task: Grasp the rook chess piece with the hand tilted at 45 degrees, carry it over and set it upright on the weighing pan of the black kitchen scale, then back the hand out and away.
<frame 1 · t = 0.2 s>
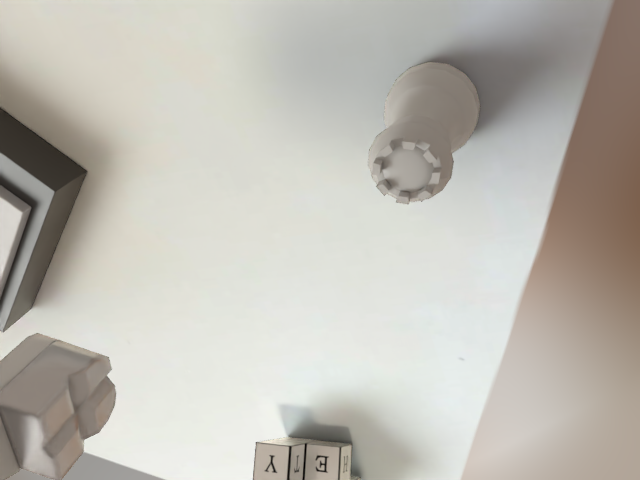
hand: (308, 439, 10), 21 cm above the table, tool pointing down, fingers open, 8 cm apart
building blocks: (322, 446, 43), on the table
rook chess piece: (433, 104, 27), on the table
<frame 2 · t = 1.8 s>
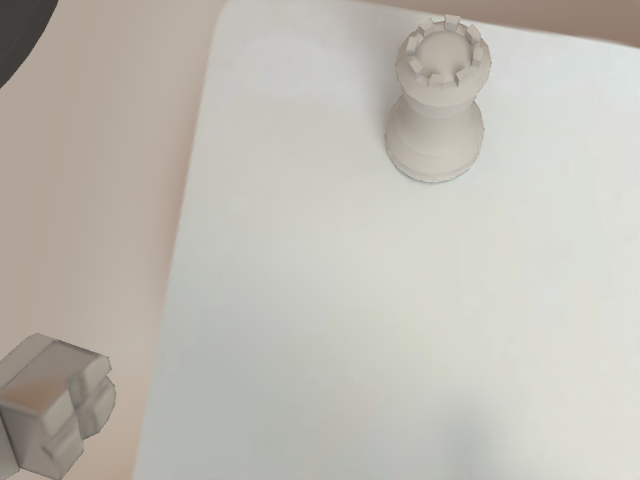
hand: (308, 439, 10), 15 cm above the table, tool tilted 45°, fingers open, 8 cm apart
rook chess piece: (432, 141, 26), on the table
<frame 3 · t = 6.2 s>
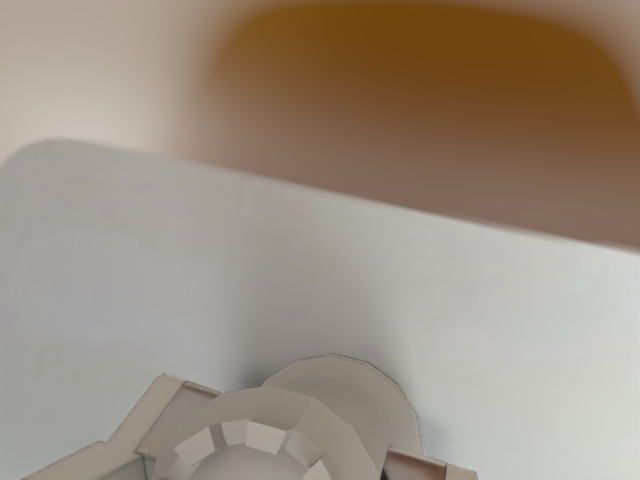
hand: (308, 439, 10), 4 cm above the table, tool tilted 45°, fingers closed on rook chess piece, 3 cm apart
rook chess piece: (334, 443, 14), on the table, touching gripper
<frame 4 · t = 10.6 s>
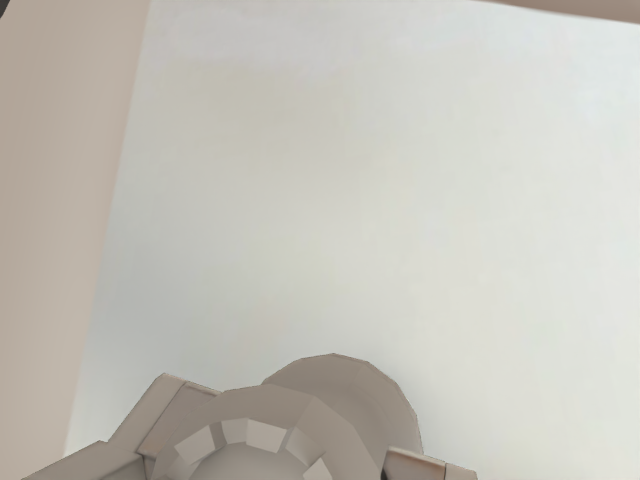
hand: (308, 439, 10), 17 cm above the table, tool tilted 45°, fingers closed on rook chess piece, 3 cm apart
rook chess piece: (334, 443, 14), point 12 cm above the table, touching gripper
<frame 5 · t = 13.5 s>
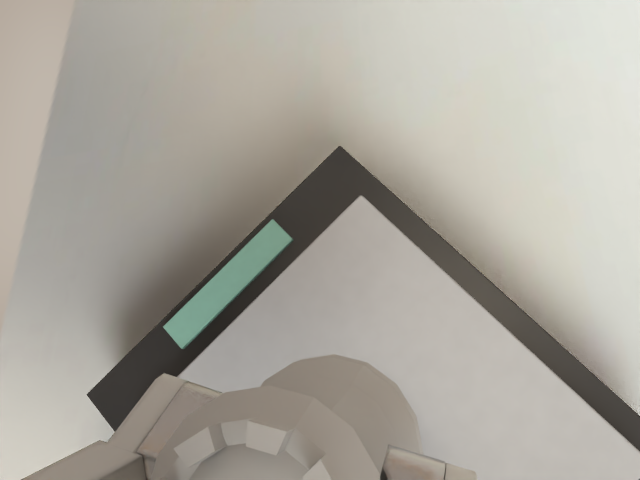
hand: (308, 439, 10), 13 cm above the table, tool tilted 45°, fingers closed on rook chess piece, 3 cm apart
kitchen scale: (363, 415, 23), on the table
rook chess piece: (334, 443, 14), point 9 cm above the table, touching gripper
when the fingers open (8 cm above the table, at t = 15.3 s): rook chess piece stays where it is, resting on kitchen scale.
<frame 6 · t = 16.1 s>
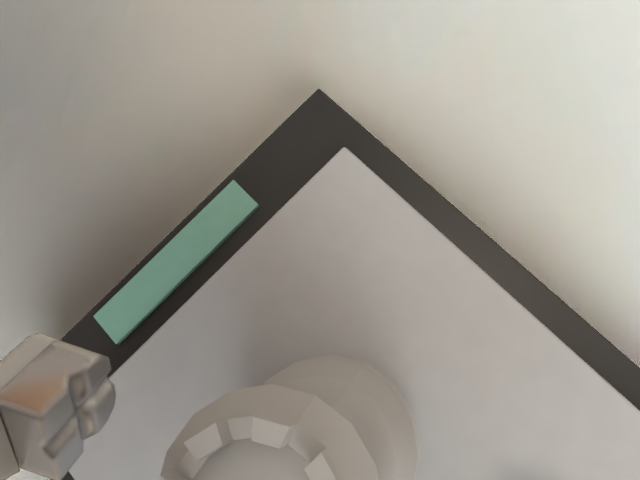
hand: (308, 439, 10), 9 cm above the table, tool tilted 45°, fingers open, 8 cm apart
kitchen scale: (349, 427, 18), on the table
rook chess piece: (333, 441, 15), point 4 cm above the table, touching kitchen scale
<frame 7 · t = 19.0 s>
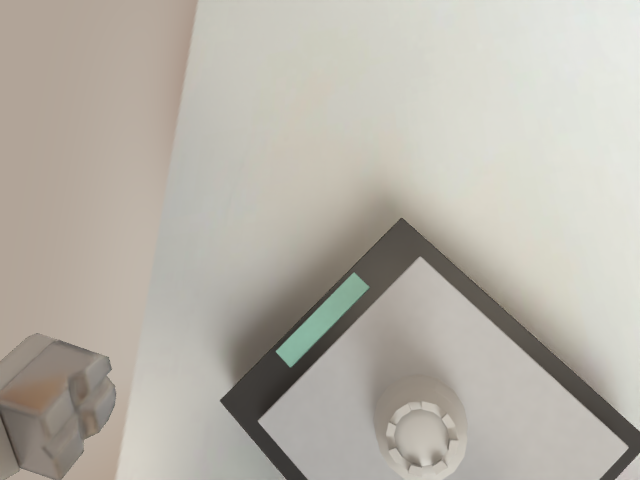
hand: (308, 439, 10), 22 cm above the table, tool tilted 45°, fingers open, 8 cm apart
kitchen scale: (420, 415, 31), on the table
rook chess piece: (419, 420, 27), point 4 cm above the table, touching kitchen scale
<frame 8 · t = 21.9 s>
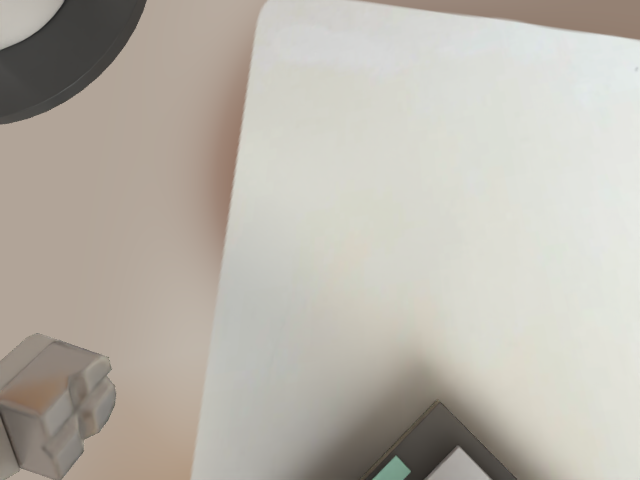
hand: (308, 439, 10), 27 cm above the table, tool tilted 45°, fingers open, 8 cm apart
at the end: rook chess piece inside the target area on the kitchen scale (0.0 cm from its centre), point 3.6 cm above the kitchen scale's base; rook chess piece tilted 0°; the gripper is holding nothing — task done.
